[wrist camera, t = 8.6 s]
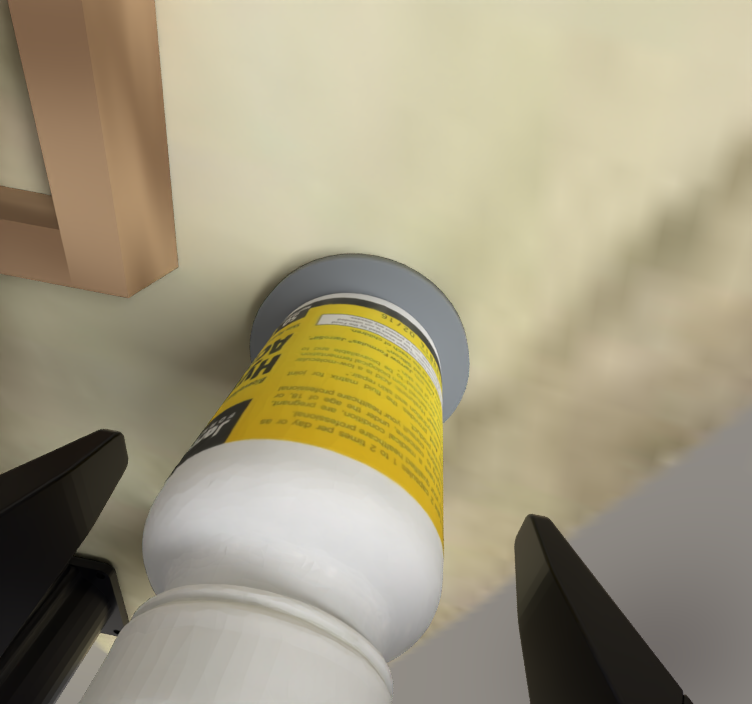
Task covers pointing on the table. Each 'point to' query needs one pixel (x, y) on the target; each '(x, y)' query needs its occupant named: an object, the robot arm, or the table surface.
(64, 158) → the wooden frame
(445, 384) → the coaster
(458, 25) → the table surface
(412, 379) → the supplement bottle
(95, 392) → the table surface
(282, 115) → the table surface
